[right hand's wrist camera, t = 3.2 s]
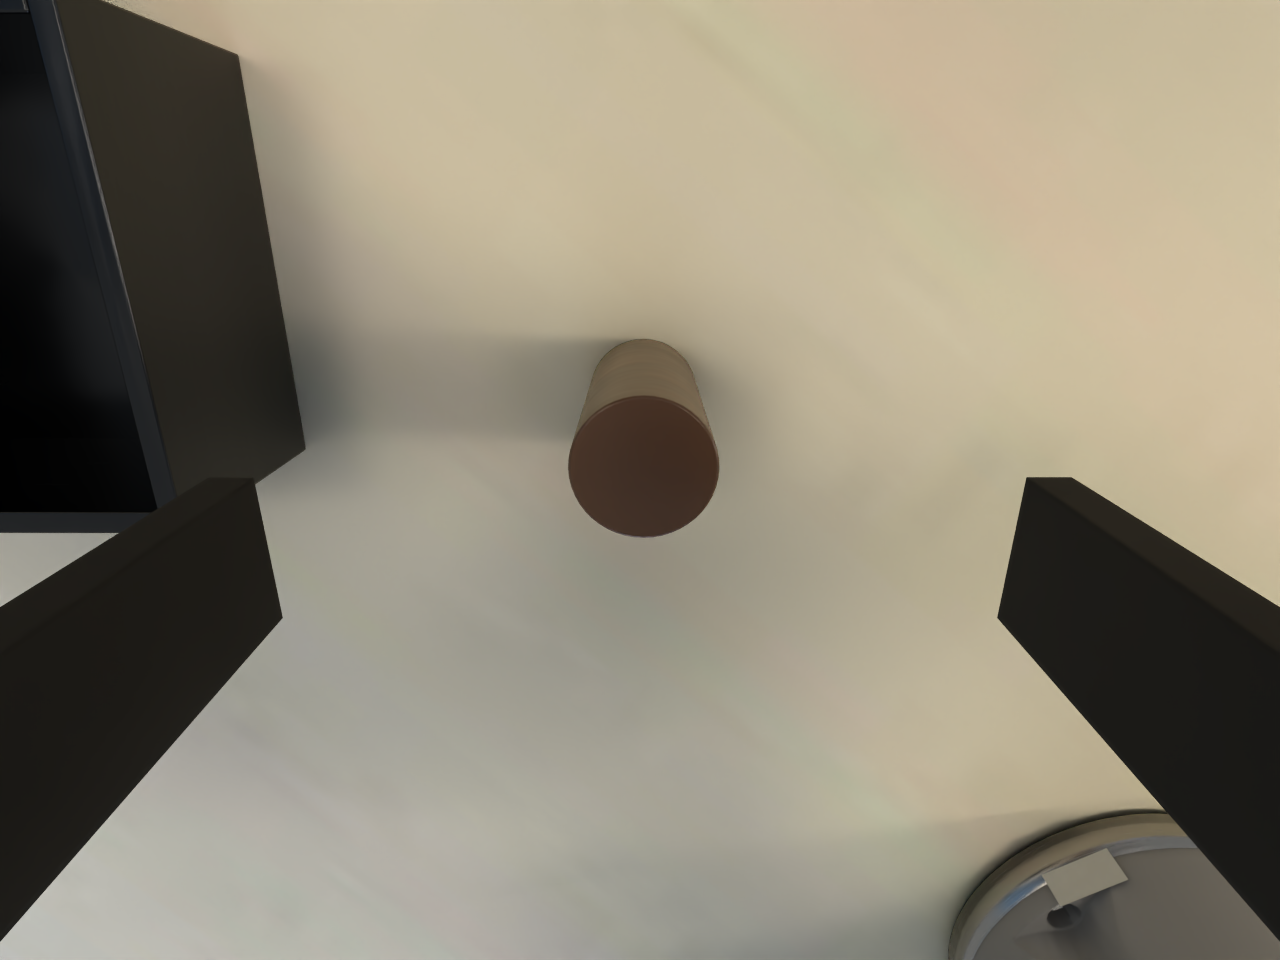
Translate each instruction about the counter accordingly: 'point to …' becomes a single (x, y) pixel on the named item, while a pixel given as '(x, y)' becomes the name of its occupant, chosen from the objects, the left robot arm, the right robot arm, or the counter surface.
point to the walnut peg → (643, 443)
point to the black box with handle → (130, 273)
